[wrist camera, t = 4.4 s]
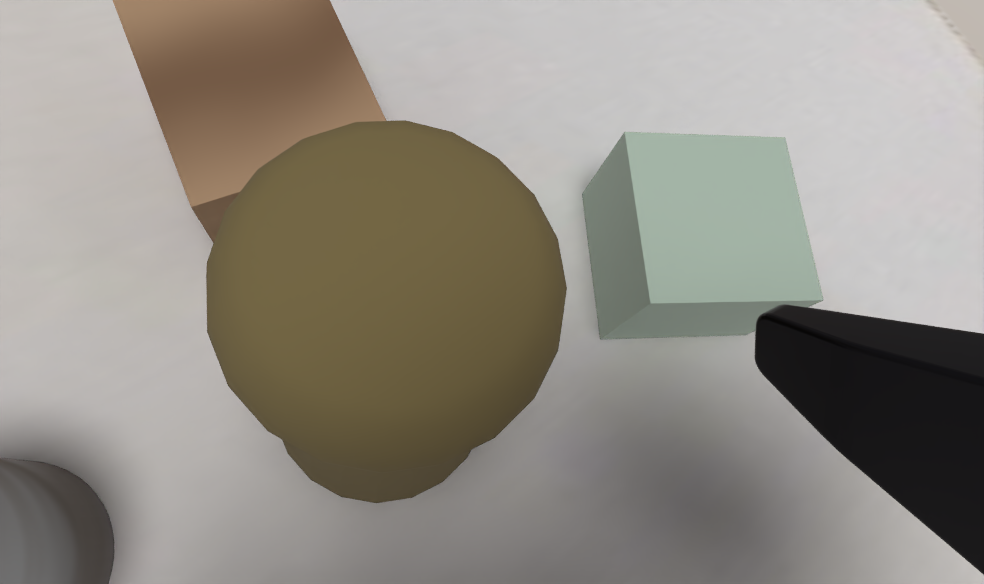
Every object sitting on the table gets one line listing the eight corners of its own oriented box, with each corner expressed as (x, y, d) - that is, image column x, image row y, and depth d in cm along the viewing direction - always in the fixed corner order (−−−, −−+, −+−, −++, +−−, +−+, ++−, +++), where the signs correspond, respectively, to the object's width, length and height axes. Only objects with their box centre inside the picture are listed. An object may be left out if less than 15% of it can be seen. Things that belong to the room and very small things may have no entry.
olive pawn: (370, 252, 20) (367, -25, 9) (527, 375, 19) (706, 229, 9) (225, 409, 17) (10, 278, 7) (398, 550, 17) (437, 626, 7)
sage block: (716, 198, 23) (785, 137, 19) (743, 336, 21) (823, 300, 17) (580, 196, 22) (624, 131, 18) (598, 340, 20) (650, 303, 16)
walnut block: (391, 217, 20) (396, 142, 16) (232, 273, 19) (191, 206, 15) (322, 63, 21) (308, -44, 17) (167, 105, 20) (112, -1, 16)
